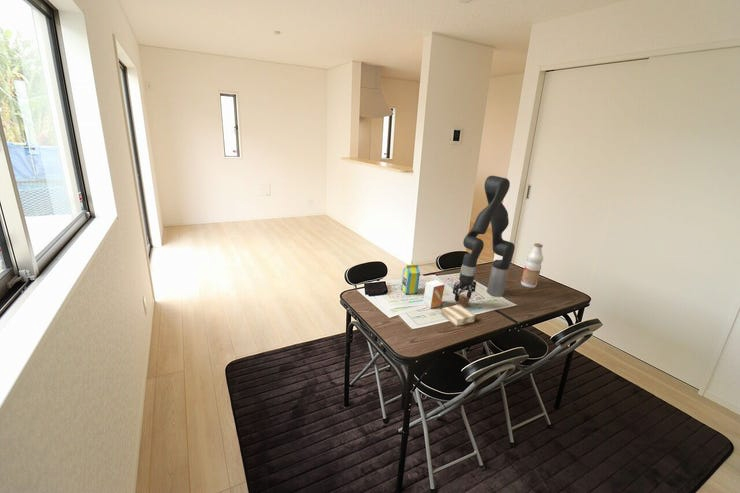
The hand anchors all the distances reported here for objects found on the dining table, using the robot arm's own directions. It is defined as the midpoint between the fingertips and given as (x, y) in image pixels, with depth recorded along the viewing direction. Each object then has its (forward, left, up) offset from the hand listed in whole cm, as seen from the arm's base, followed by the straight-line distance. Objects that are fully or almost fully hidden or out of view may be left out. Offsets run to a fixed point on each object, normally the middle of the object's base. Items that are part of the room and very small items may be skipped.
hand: (462, 299), depth 191 cm
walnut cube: (0, 0, -3) cm, 3 cm away
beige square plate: (+12, +10, -4) cm, 16 cm away
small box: (+16, -6, -4) cm, 17 cm away
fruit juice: (-62, -5, -4) cm, 63 cm away
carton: (+19, -24, -4) cm, 31 cm away
